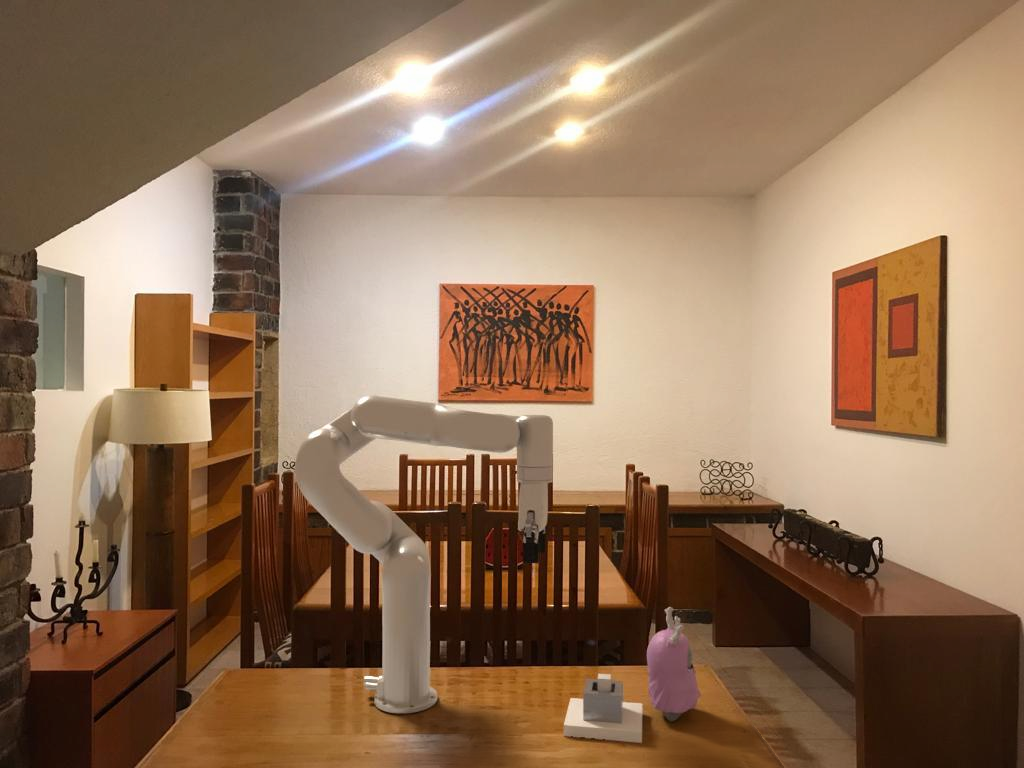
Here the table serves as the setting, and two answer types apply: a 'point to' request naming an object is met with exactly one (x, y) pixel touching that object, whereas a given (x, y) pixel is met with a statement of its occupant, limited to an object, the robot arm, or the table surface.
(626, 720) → the post plinth
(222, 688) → the table surface
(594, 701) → the collar
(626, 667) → the table surface
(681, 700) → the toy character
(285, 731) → the table surface
